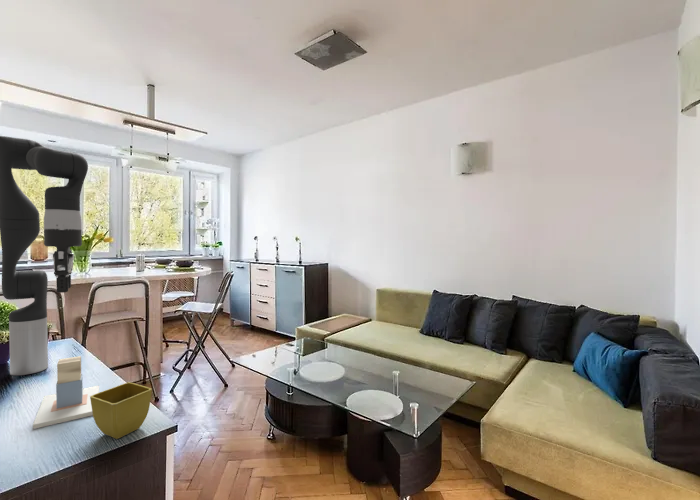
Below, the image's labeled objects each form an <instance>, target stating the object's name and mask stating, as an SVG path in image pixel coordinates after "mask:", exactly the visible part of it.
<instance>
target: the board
mask: <svg viewBox="0 0 700 500" xmlns="http://www.w3.org/2000/svg"><path fill="white" fill-rule="evenodd" d="M97 393H100V385H94V386H90V387H86V388H85V387H84V388H83V398H82V403H80V404H76V405H71V406H66V407H62V408H57V402H56V393H54V394H48V395H44V396H43V397H42V401H41V403H40V405H39V408H38V411H37V414H36V416H35V419H34V421H33V424H32V429H33V430H35V429H39V428H44V427H48V426H51V425H52V426H53V425H56V424H60V423H65V422H70V421H74V420H78V419H83V418H87V417H90V416H91V417H92V416H93V412H92V406H91V399H90V396H92V395H94V394H97Z"/></svg>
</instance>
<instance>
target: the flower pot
mask: <svg viewBox="0 0 700 500" xmlns="http://www.w3.org/2000/svg"><path fill="white" fill-rule="evenodd" d="M152 391H153V388H151V387H148V386H144V385H141V384H137V383H134V382H130V381H129V382H125V383H122V384H120V385H117V386H114V387H111V388H108V389H105V390H102V391H101V392H100V391H99V393H97V394H94V395H92V396H90V399H91V406H92V412H93V415H92V416H93V421H94V422H95V425H96V426H97V428H98V429H99V430H100V431H101V433H103V434H104V435H106V436H108V437H111V438H112V439H113V438H114V439H116V440H117V439H120V438H122V437H125V436H126V435H129V434H131V433H133V432H134V431H137V430H138V429H140V428H141V426H142V425H143V423H144V422H145V420H146V419H147V416H148V413H149V411H150V405H151V400H152V399H151V398H152Z"/></svg>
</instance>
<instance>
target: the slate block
mask: <svg viewBox="0 0 700 500" xmlns="http://www.w3.org/2000/svg"><path fill="white" fill-rule="evenodd" d="M83 383H84V382H83V373H81V379H80V380H78V381H72V382H67V383H61V384H58V382H57V381H56V384H55V387H56V388H55V389H56V390H55V391H56V393H55V394H56V402H57V408H62V407H66V406H71V405H76V404H80V403H82V398H83Z"/></svg>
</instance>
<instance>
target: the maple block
mask: <svg viewBox="0 0 700 500" xmlns="http://www.w3.org/2000/svg"><path fill="white" fill-rule="evenodd" d="M56 367H57V369H56V370H57V371H56V374H57V379H56V380H57V381H56V383H57V382H58V384H61V383H67V382H72V381H78V380H80V379H81V374H82V355H79V356H74V357H73V356H72V357H65V358H60V359H58V361H57V364H56Z"/></svg>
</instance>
